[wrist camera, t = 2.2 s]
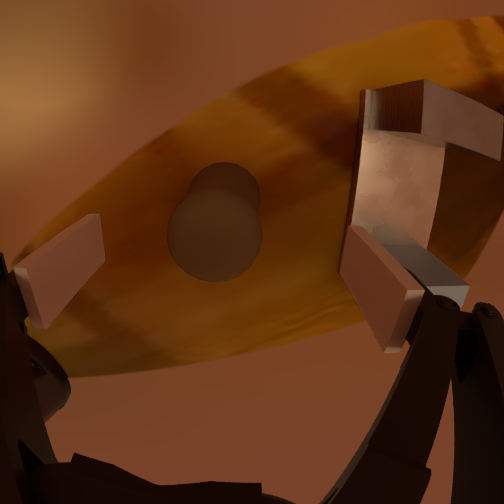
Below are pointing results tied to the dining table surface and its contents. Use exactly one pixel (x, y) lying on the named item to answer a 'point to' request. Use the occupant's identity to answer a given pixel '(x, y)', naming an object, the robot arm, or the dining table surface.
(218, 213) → the wooden pawn
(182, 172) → the dining table surface
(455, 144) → the vise
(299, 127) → the dining table surface
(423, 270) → the block
